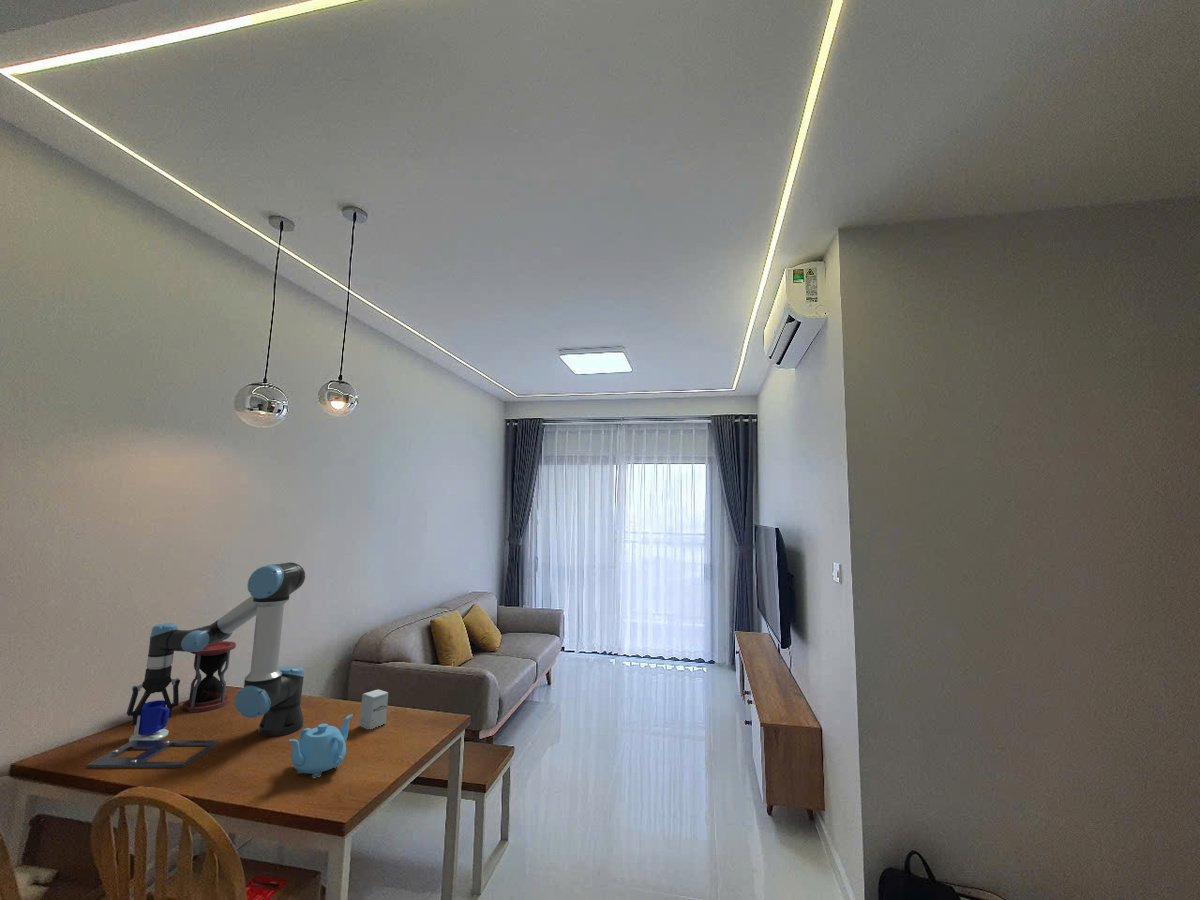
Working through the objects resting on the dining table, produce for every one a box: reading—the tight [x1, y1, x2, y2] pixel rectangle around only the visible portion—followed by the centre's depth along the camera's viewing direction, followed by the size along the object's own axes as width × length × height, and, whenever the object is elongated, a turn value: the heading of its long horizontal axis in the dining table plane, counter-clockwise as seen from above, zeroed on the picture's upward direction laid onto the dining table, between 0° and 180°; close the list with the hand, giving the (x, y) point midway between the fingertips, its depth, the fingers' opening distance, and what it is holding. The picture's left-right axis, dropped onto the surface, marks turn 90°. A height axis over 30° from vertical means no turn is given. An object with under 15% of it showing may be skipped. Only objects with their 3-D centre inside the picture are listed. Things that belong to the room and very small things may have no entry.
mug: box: [138, 699, 170, 735], centre depth 188 cm, size 8×12×10 cm
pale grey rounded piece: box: [128, 728, 170, 742], centre depth 187 cm, size 11×11×1 cm
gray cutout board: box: [85, 739, 221, 769], centre depth 174 cm, size 30×18×1 cm, turn 95°
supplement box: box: [359, 689, 389, 730], centre depth 204 cm, size 7×7×13 cm
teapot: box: [288, 713, 354, 777], centre depth 170 cm, size 16×20×14 cm
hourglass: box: [181, 640, 237, 713], centre depth 220 cm, size 16×16×25 cm
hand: (150, 730), depth 187 cm, fingers open, 7 cm apart
